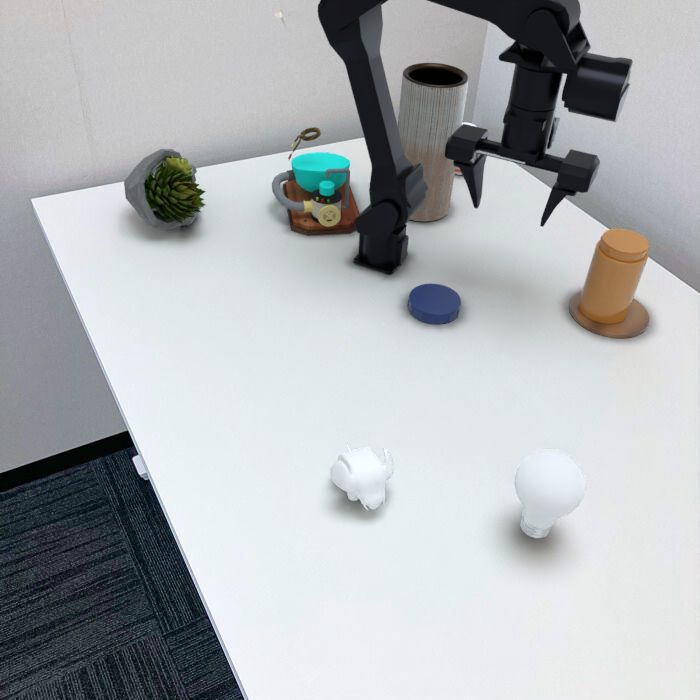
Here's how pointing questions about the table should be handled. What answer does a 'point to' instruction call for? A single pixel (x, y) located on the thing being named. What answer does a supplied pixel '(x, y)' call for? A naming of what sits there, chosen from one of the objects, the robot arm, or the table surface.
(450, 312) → the jar lid
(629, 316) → the coaster
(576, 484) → the light bulb
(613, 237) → the jar
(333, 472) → the elephant figurine
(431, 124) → the planter
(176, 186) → the potted plant
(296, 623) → the table surface
